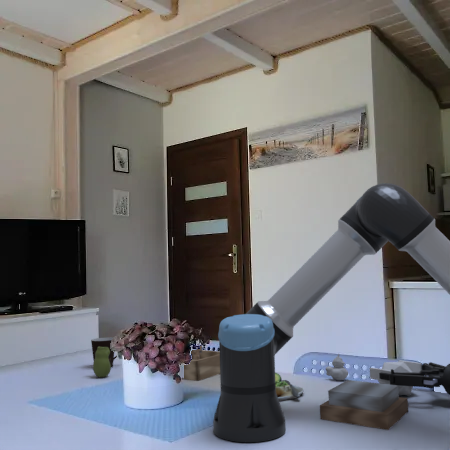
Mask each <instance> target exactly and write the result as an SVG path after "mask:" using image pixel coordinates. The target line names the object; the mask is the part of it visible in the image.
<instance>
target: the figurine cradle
mask: <svg viewBox="0 0 450 450" xmlns="http://www.w3.org/2000/svg"><path fill="white" fill-rule="evenodd" d="M218 375H220V350H216V351H215V350H207V349H205V350H204V349H202V354H200V360H191V362H190V364H188V365H184V379H183V380H187V381H188V380H189V381H196V382H199V381H202V380H205V379H208V378H212V377H214V376H215V377H216V376H218Z"/></svg>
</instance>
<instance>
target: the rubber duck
mask: <svg viewBox="0 0 450 450" xmlns="http://www.w3.org/2000/svg"><path fill="white" fill-rule="evenodd" d="M345 364H346V362H345V361H344V360H343V358H342V357H341V356H340V353H338V354H337V356H336V357H335V358H333V359H332V362H331V365H332V366H325V371H326V376H328V377H330V376H331V378H332V379H333V380H335V381H341V382H342V381H344V380H346V378H347V377H348V376H349V371H348V369H347V368H345V367H344V366H345Z"/></svg>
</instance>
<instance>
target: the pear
mask: <svg viewBox="0 0 450 450" xmlns="http://www.w3.org/2000/svg"><path fill="white" fill-rule="evenodd" d="M109 354H110V350H109V348H108V347H97V351H96V353H95V360H93V364H92V369H93V373H94V375H95V376H96V377H97V378H106V377H107V376H109V375H110V373H111V370H112V368H111V365H110V362H109V359H108V356H109Z"/></svg>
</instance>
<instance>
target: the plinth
mask: <svg viewBox="0 0 450 450" xmlns="http://www.w3.org/2000/svg"><path fill="white" fill-rule="evenodd" d="M327 391H328V394H327V395H328V400H326V401H324V402H322V403H321V404H320V405H319V415H320V416H319V417H320V420H324V421H330V422H337V423H343V424H350V425H353V426H354V425H355V426H362V427H368V428H373V429H380V430H385V431H389V430H390V429H391V428H393V426H395V425H396V424H397V423H398V422H399V421H400V420H401V419H402V418H403V417H405V415H407V413H408V412H409V404H408V403H409V400H408V397H402V396H399V391H398V385H389V384H380V383H379V382H378V383H377V382H371V381H369V382H368V381H362V380H361V381H360V380H352V379H351V380H349V379H348V380H345V381H344V382H342V383H340V384H338V385H336V386H335V387H333V388H330V389H329V390H327Z"/></svg>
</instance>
